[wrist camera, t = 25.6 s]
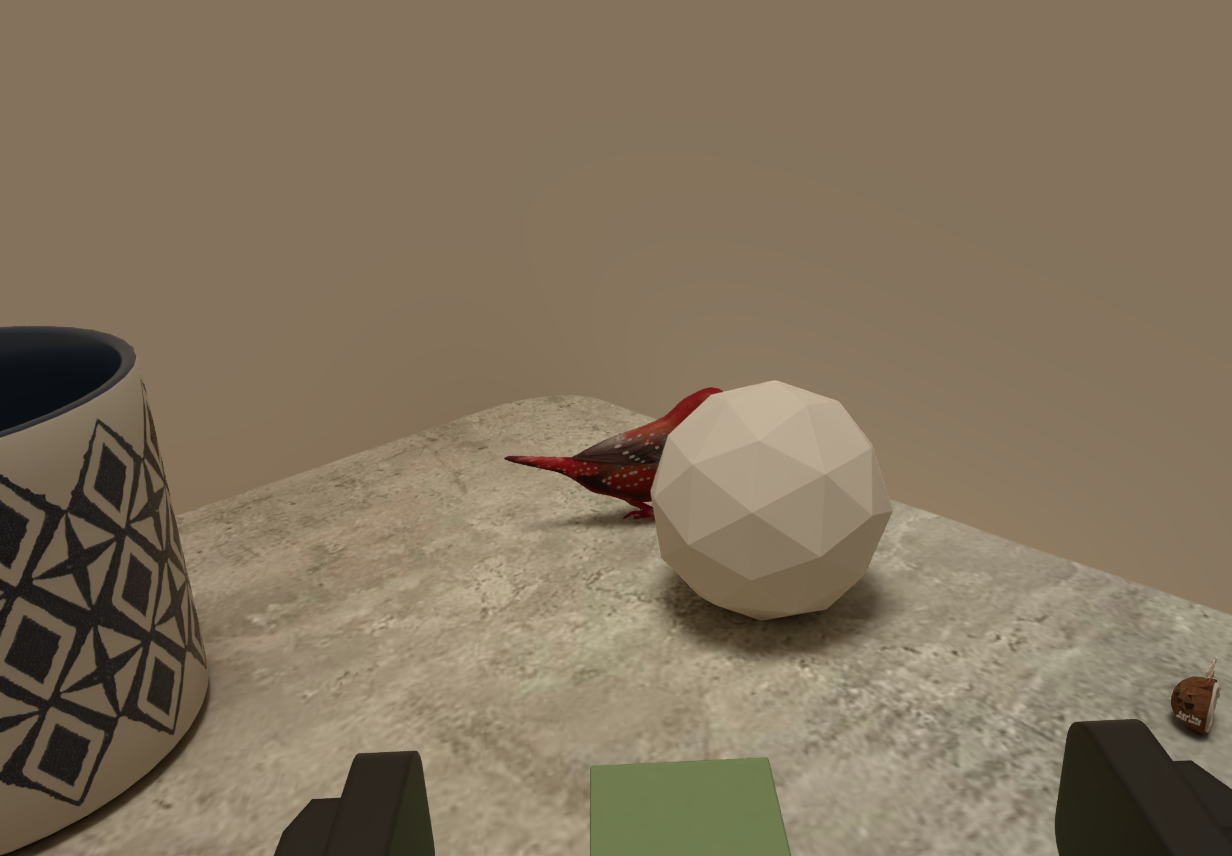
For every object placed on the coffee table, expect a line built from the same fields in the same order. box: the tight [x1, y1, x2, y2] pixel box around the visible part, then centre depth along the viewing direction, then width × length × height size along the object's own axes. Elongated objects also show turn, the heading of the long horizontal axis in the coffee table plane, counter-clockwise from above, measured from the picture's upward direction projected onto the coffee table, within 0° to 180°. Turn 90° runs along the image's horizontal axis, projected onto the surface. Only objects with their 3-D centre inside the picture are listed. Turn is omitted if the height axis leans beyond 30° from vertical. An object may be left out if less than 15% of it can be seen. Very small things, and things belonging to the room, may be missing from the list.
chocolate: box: [1169, 657, 1221, 734], centre depth 54 cm, size 3×2×4 cm
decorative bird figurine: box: [504, 387, 723, 519], centre depth 76 cm, size 3×18×10 cm, turn 99°
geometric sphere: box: [650, 380, 893, 621], centre depth 65 cm, size 14×15×15 cm
